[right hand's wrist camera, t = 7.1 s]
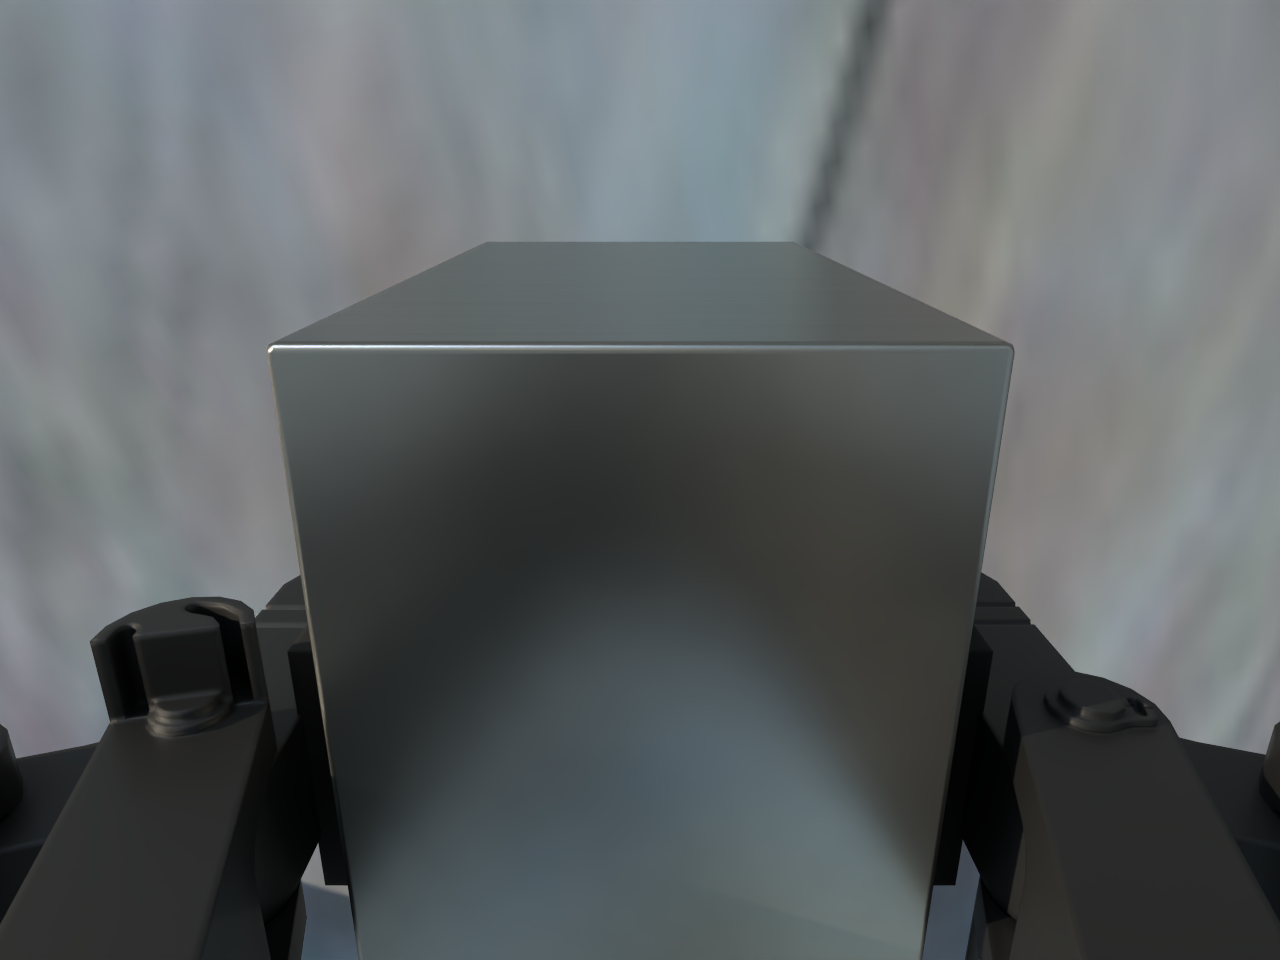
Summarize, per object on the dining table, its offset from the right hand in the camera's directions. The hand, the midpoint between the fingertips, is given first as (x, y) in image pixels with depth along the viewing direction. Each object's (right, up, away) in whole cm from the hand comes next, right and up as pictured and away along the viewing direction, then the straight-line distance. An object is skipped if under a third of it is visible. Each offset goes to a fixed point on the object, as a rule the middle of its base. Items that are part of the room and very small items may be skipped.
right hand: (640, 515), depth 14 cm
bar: (0, -13, +5) cm, 14 cm away
